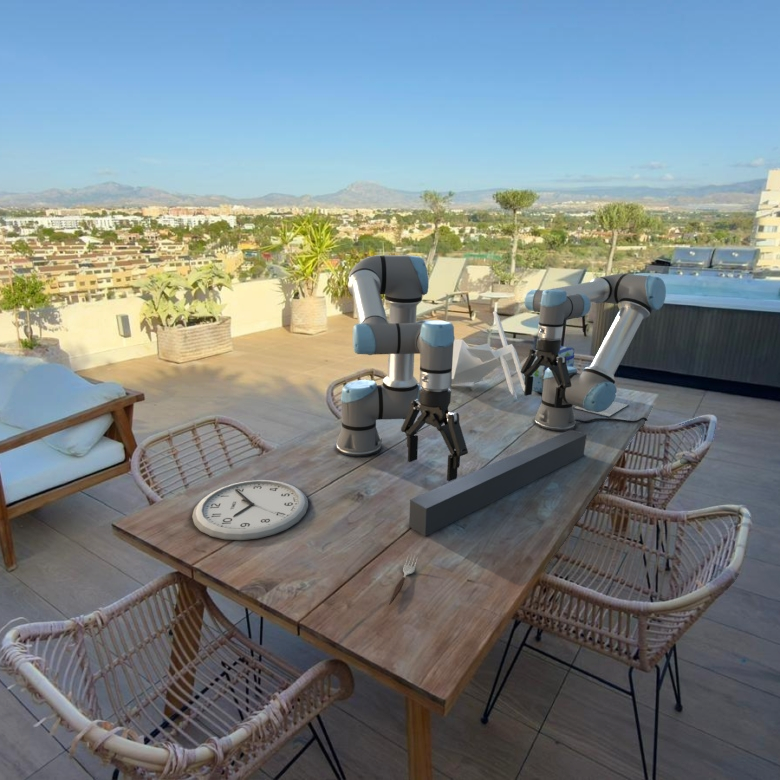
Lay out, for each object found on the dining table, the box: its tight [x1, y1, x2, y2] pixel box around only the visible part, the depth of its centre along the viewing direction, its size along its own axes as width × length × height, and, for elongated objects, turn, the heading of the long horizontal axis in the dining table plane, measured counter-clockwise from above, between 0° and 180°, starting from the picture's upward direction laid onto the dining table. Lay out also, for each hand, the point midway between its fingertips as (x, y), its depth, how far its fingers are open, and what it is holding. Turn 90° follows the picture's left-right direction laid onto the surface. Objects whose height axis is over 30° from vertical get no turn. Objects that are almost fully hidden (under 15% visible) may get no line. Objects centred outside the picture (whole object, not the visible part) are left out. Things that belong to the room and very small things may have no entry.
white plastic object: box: [451, 310, 530, 400], centre depth 245 cm, size 37×45×31 cm
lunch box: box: [532, 345, 575, 394], centre depth 245 cm, size 26×11×21 cm, turn 134°
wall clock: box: [191, 479, 309, 541], centre depth 140 cm, size 30×2×30 cm
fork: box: [388, 554, 419, 606], centre depth 112 cm, size 3×16×2 cm, turn 160°
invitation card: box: [573, 400, 629, 418], centre depth 226 cm, size 21×1×15 cm
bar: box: [408, 429, 587, 537], centre depth 154 cm, size 76×6×8 cm, turn 131°
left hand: (431, 469), depth 129 cm, fingers open, 13 cm apart
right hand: (542, 400), depth 176 cm, fingers open, 13 cm apart
